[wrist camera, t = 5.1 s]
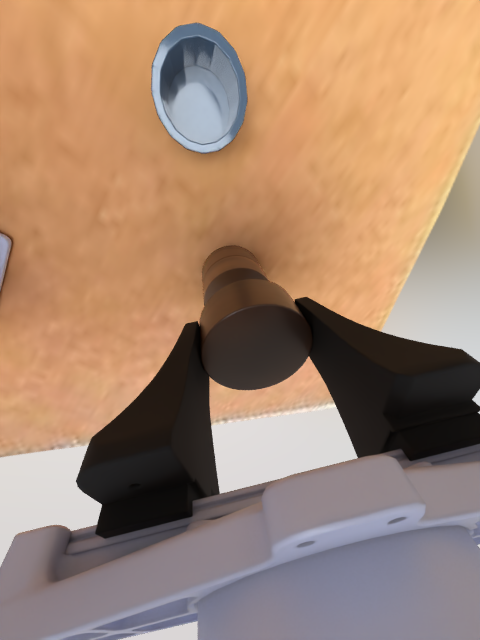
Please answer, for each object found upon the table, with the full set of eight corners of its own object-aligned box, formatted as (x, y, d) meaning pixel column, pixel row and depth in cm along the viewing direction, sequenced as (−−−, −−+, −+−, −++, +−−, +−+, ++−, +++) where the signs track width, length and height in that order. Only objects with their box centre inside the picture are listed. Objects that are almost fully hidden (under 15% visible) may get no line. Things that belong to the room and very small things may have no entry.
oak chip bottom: (191, 282, 21) (190, 295, 19) (223, 233, 19) (226, 242, 17) (237, 307, 24) (241, 321, 22) (270, 265, 22) (278, 276, 20)
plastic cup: (149, 118, 15) (135, 107, 11) (184, 34, 13) (180, -13, 9) (210, 168, 17) (215, 172, 13) (247, 100, 15) (265, 83, 11)
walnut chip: (181, 338, 13) (178, 371, 11) (237, 258, 11) (247, 281, 9) (256, 368, 15) (265, 400, 13) (314, 307, 13) (335, 335, 11)
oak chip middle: (202, 312, 20) (203, 329, 18) (203, 253, 18) (204, 266, 16) (260, 312, 21) (267, 328, 19) (270, 257, 18) (279, 269, 17)
